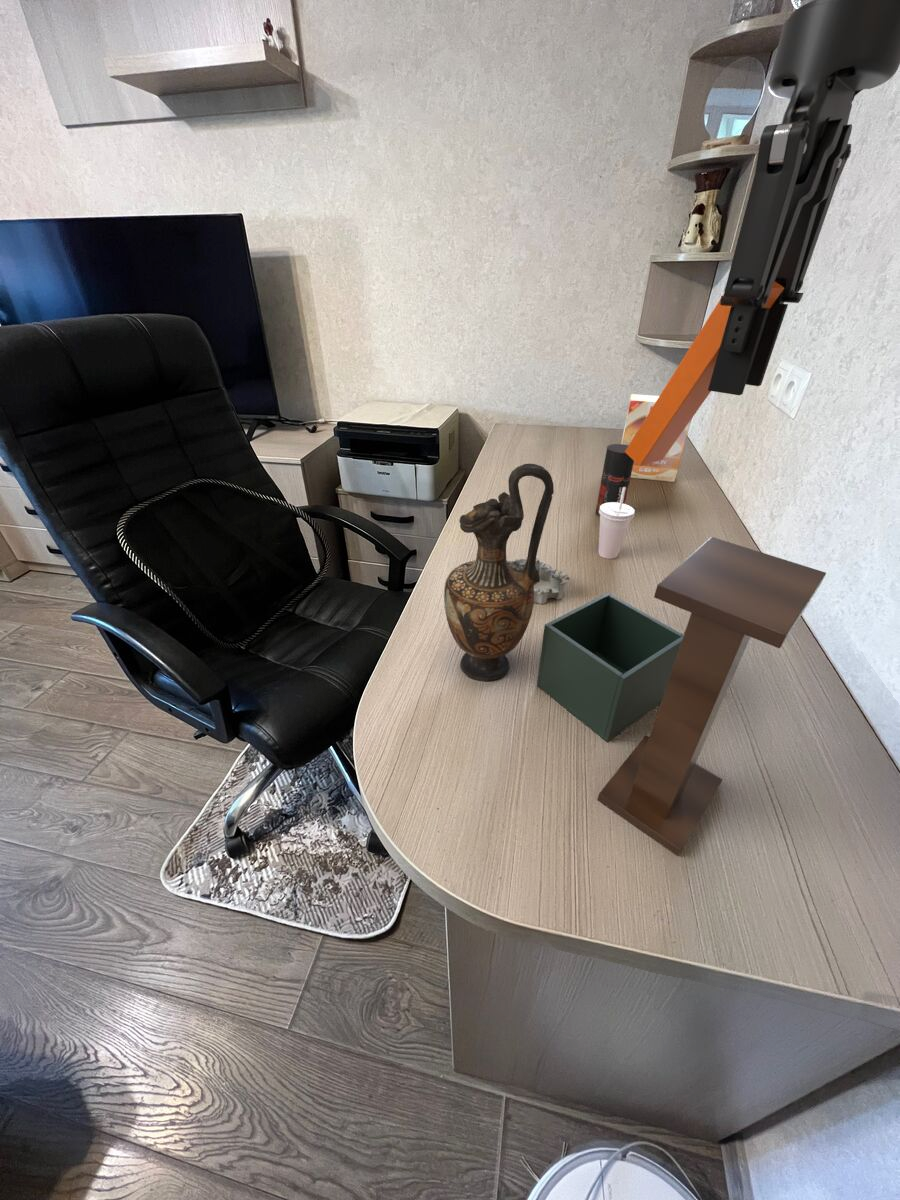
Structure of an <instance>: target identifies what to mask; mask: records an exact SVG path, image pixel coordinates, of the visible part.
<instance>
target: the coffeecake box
mask: <svg viewBox="0 0 900 1200" xmlns="http://www.w3.org/2000/svg"><path fill="white" fill-rule="evenodd" d="M659 396H660V395H649V394H637V393H635V394H634V393H630V397H629V402H628V407H627V412H626V417H625V422H624V427H623V433H622V437H621V443H620V444H625V445H629V444H630V443H631V441H632V439H633V438H634V436H635V435H636V433H637V431H638V430H639V428H640V427H641V425H642V423H643V422H644V420H645V419H646V417H647V415H648V414H649V412H650V411H651V409H652V407H653V406H654V404H655V403H656V401H657V399H658V398H659ZM692 419H693V418H692ZM692 419H691V420H690V422H689V423H688V425H687V426H686V427H685V429H684V430H683V432H682V433H681V434H680V436H679V437H678V439H677V440H676V441H675V443H674V444H673V446H672V447H671V448H670V450H669V451H668V453H667V454H666V455H665V457H664V458H663V460H660V461H656V462H653V463H649V464H646V465H642V466H639V465H638V464H637V463H636V462H635V461H634V463H633V468H632V473H631V477H630V479H639V480H651V481H657V482H659V481H660V482H667V483H668V482H669V483H675V482H676V477H677V475H678V471H679V467H680V464H681V460H682V456H683V452H684V449H685V445H686V441H687V437H688V434H689V430H690V426H691V423H692Z"/></svg>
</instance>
